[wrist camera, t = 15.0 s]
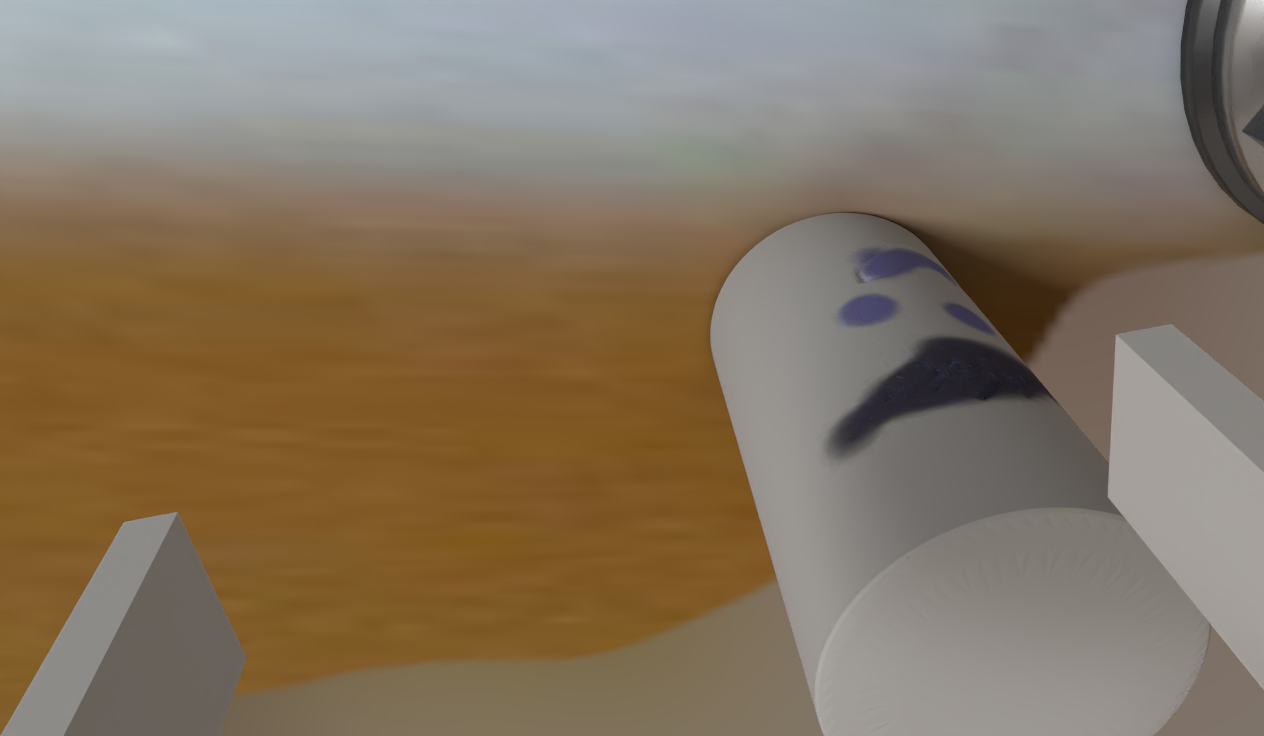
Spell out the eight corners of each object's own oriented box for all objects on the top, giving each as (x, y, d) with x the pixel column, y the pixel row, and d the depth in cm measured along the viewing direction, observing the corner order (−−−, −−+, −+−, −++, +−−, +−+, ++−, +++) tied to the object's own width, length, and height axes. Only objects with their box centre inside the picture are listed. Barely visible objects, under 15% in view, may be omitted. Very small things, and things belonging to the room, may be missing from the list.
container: (945, 189, 42) (1235, 478, 24) (952, 405, 46) (1198, 778, 29) (693, 236, 42) (798, 557, 24) (726, 446, 47) (833, 842, 29)
